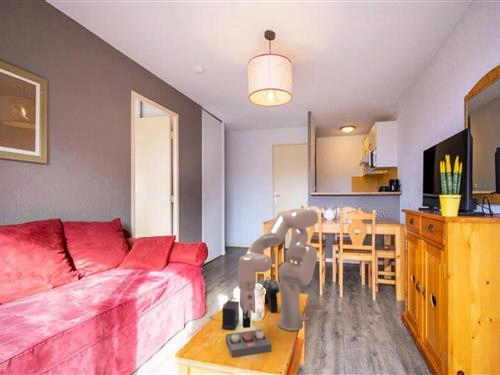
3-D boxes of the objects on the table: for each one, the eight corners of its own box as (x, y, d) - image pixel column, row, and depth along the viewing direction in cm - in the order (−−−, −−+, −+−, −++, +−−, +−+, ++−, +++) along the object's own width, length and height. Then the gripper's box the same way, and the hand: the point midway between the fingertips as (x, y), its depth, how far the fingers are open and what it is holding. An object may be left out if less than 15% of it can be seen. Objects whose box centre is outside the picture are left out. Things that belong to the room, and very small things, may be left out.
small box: (234, 330, 138) (234, 308, 138) (221, 329, 139) (221, 307, 139) (239, 321, 148) (239, 301, 148) (227, 320, 149) (227, 300, 150)
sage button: (238, 339, 124) (238, 333, 124) (240, 343, 120) (240, 337, 121) (230, 340, 123) (230, 334, 123) (232, 344, 120) (232, 338, 120)
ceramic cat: (280, 313, 157) (279, 277, 158) (269, 314, 156) (268, 278, 157) (269, 301, 177) (269, 269, 178) (259, 302, 175) (259, 269, 176)
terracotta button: (250, 337, 125) (250, 332, 125) (252, 341, 122) (252, 335, 122) (242, 338, 124) (242, 333, 125) (244, 342, 121) (244, 336, 121)
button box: (261, 335, 132) (261, 328, 132) (271, 351, 119) (271, 343, 119) (225, 340, 128) (225, 333, 128) (231, 357, 114) (231, 349, 114)
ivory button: (262, 336, 127) (262, 330, 127) (264, 339, 123) (264, 334, 123) (254, 337, 126) (254, 331, 126) (256, 341, 122) (256, 335, 123)
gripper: (260, 288, 118) (259, 333, 117) (250, 279, 132) (250, 319, 131) (242, 290, 116) (242, 335, 115) (235, 280, 130) (234, 320, 129)
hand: (246, 326), depth 123 cm, fingers closed
